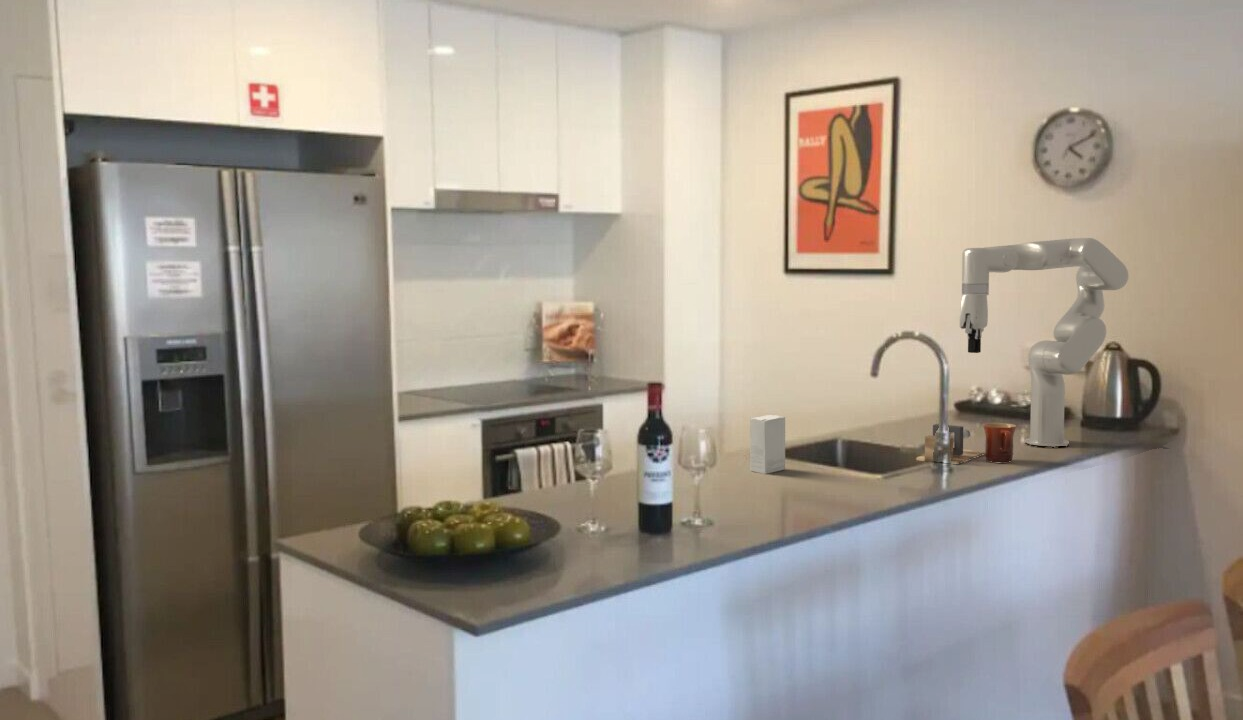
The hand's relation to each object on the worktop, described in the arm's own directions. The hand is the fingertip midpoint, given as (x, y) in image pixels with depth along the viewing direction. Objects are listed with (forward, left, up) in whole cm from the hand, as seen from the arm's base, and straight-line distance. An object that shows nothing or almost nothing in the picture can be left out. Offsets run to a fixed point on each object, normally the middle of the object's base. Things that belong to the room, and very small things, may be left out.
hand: (974, 352), depth 311 cm
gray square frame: (+18, 0, -28) cm, 33 cm away
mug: (+14, +14, -29) cm, 35 cm away
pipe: (+14, 0, -25) cm, 29 cm away
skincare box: (+63, -31, -29) cm, 76 cm away
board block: (+15, 0, -29) cm, 33 cm away
